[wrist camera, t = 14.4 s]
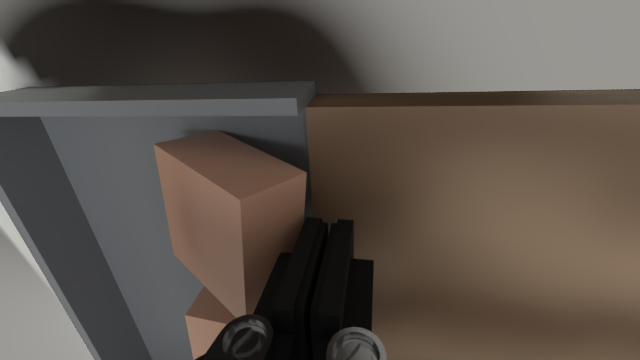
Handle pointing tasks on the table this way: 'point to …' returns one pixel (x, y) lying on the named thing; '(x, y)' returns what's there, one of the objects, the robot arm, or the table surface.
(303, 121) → the tray
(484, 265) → the board
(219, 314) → the tile
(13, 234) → the table surface
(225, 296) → the tile
